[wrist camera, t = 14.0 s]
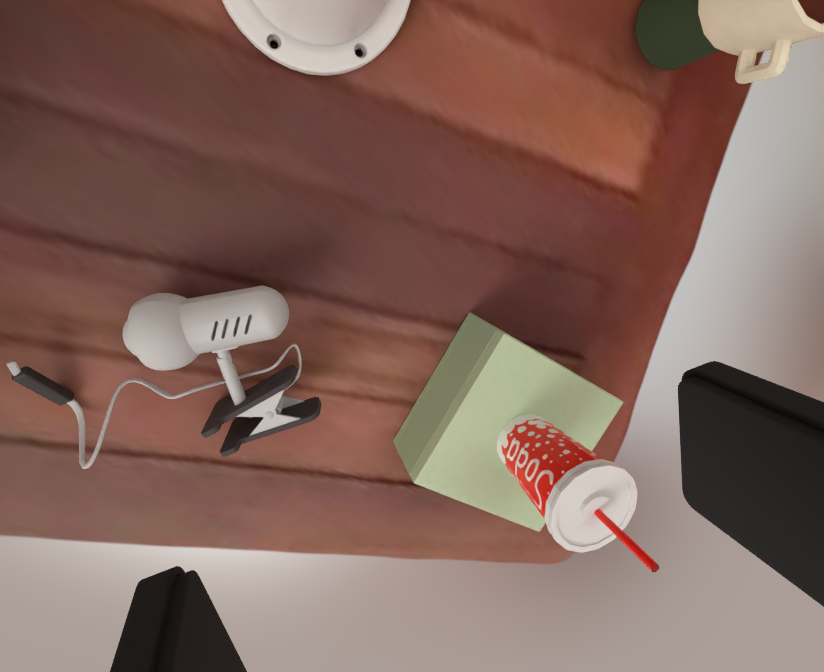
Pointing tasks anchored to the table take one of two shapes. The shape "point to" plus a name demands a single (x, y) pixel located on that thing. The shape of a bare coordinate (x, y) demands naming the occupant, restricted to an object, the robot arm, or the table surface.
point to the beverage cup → (570, 486)
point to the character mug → (727, 32)
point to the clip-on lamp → (184, 341)
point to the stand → (493, 418)
